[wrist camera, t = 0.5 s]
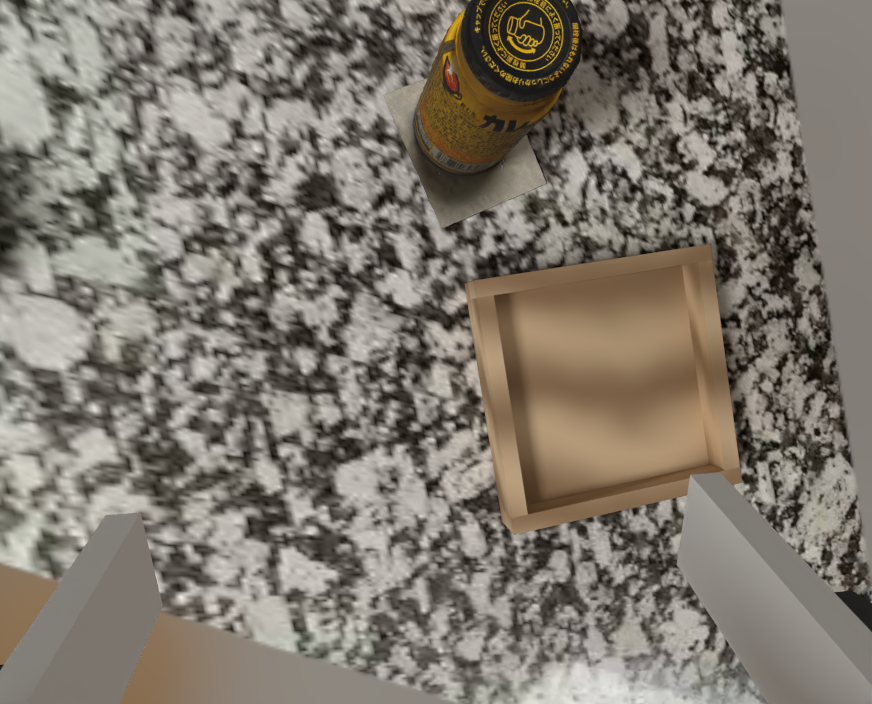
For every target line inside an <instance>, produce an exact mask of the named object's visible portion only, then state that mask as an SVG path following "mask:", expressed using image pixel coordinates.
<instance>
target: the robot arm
mask: <svg viewBox="0 0 872 704" xmlns="http://www.w3.org/2000/svg"><path fill="white" fill-rule="evenodd" d="M677 566H678V567H679V569H680V570H681V572H682V573H683V575H684V576H685V578H686V579H687V581H688V583H689V584H690V586H691V587H692V589H693V590H694V592H695V593H696V595H697V596H698V598H699V599H700V601H701V602H702V604H703V605H704V607H705V608H706V610H707V611H708V613H709V614H710V616H711V617H712V619H713V620H714V622H715V623H716V625H717V626H718V628H719V630H720V631H721V633H722V634H723V636H724V637H725V639H726V640H727V642H728V643H729V645H730V646H731V648H732V649H733V651H734V652H735V654H736V655H737V657H738V658H739V660H740V661H741V663H742V664H743V666H744V667H745V669H746V670H747V672H748V674H749V675H750V677H751V678H752V680H753V681H754V683H755V684H756V686H757V687H758V689H759V690H760V692H761V693H762V695H763V696H764V698H765V699H766V701H767V702H768V704H872V603H870V602H869V601H867V600H866V599H864V598H862V597H861V596H859V595H858V594H856V593H855V592H853V591H844V592H833V591H832V590H831V589H830V588H829V587H828V585H827V584H826V583H825V582H824V581H823V580H822V579H821V578H820V577H819V576H818V575H817V574H816V573H815V572H814V571H813V570H812V569H811V568H810V567H809V565H808V564H807V563H806V562H805V561H804V560H803V559H802V558H801V557H800V556H799V555H798V554H797V553H796V552H795V551H794V550H793V549H792V548H791V547H790V545H789V544H788V543H787V542H786V541H785V540H784V539H783V538H782V537H781V536H780V535H779V534H778V533H777V532H776V531H775V530H774V529H773V528H772V527H771V525H770V524H769V523H768V522H767V521H766V520H765V519H764V518H763V517H762V516H761V515H760V514H759V513H758V512H757V511H756V510H755V509H754V508H753V507H752V505H751V504H750V503H749V502H748V501H747V500H746V499H745V498H744V497H743V496H742V495H741V494H740V493H739V492H738V491H737V490H736V489H735V488H734V487H733V485H732V484H731V483H730V482H729V481H728V480H727V479H726V478H725V477H724V476H723V475H722V474H721V473H707V474H692V475H690V480H689V486H688V493H687V500H686V507H685V513H684V520H683V527H682V534H681V540H680V547H679V554H678V561H677ZM162 606H163V605H162V601H161V597H160V593H159V589H158V584H157V580H156V576H155V572H154V568H153V563H152V559H151V555H150V551H149V547H148V542H147V538H146V534H145V530H144V526H143V521H142V517H141V513H131V514H117V515H106V516H105V518H104V519H103V521H102V522H101V523H100V525H99V526H98V528H97V529H96V531H95V532H94V534H93V535H92V537H91V538H90V540H89V541H88V543H87V544H86V545H85V547H84V548H83V550H82V551H81V553H80V554H79V556H78V557H77V559H76V560H75V562H74V563H73V564H72V566H71V567H70V569H69V570H68V572H67V573H66V575H65V576H64V578H63V579H62V581H61V582H60V584H59V585H58V586H57V588H56V589H55V591H54V592H53V594H52V595H51V597H50V598H49V600H48V601H47V603H46V604H45V606H44V607H43V608H42V610H41V612H40V613H39V614H38V616H37V617H36V619H35V620H34V622H33V623H32V625H31V626H30V627H29V629H28V631H27V632H26V633H25V635H24V636H23V638H22V639H21V641H20V642H19V644H18V645H17V647H16V648H15V650H14V651H13V652H12V654H11V655H10V657H9V658H8V660H7V661H6V663H5V664H4V665H0V704H120V702H121V699H122V697H123V695H124V693H125V690H126V688H127V685H128V683H129V681H130V679H131V677H132V674H133V672H134V670H135V667H136V665H137V663H138V661H139V659H140V656H141V653H142V652H143V649H144V647H145V645H146V643H147V640H148V638H149V636H150V634H151V631H152V629H153V627H154V624H155V622H156V620H157V618H158V616H159V613H160V611H161V609H162Z"/></svg>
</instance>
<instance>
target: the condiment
mask: <svg viewBox="0 0 872 704" xmlns="http://www.w3.org/2000/svg"><path fill="white" fill-rule="evenodd" d="M581 43H582V29H581V25H580V21H579V18H578V16H577V12H576V10H575V9H574V6H573V4H572V2H571V1H570V0H471V1H470V2H469V3H468V6H467V8H466V9H465V10H464V11H462V12H461V13H460V14H459V15H458V16H457V17H456V19H455V20H454V21H453V23H452V25H451V26H450V27H449V29H448V30H447V34H446V35H445V37H444V39H443V41H442V43H441V45H440V47H439V51H438V54H437V56H436V58H435V61H434V62H433V64H432V69H431V71H430V73H429V75H428V77H427V79H424V80H422V81H419V82H417V83H414V84H411V85H408V86H405V87H403V88H400V89H397V90H395V91H392V92H390V93H387V94H385V95H383V96H384V98H385V100H386V103H387V105H388V107H389V110H390V112H391V114H392V117H393V119H394V122H395V124H396V126H397V128H398V130H399V133H400V135H401V138H402V140H403V142H404V145H405V147H406V149H407V151H408V154H409V156H410V158H411V160H412V162H413V165H414V167H415V169H416V171H417V173H418V175H419V177H420V180H421V183H422V185H423V187H424V189H425V192H426V194H427V197H428V199H429V201H430V203H431V205H432V207H433V209H434V211H435V214H436V216H437V219H438V221H439V223H440V226H441V228H444V227H446V226H449V225H451V224H453V223H456V222H458V221H461V220H463V219H465V218H468V217H470V216H472V215H474V214H477V213H479V212H482V211H484V210H486V209H489V208H491V207H493V206H495V205H498V204H500V203H502V202H505V201H507V200H509V199H512V198H514V197H516V196H518V195H521V194H523V193H525V192H528V191H530V190H532V189H535V188H537V187H539V186H541V185H544V184H546V181H545V179H544V176H543V173H542V171H541V168H540V166H539V164H538V162H537V160H536V156H535V154H534V151H533V149H532V148H531V145H530V143H529V140H528V137H527V135H526V134H527V133H528V132H529V131H530V130H531V129H533V127H534V126H535V125H536V124H537V123H538V122H539V121H541V119H542V118H544V117H545V115H546V114H547V113H548V112H549V111H550V110H551V109H552V108H553V106H554V105H555V103H556V101H557V99H558V98H559V96H560V94H561V91H562V88H563V86H564V85H565V84H566V83H567V81H568V80H569V78H570V77H571V75H572V74H573V72H574V70H575V68H576V67H577V65H578V63H579V61H580V54H581ZM503 158H505V161H504V162H502V159H503ZM502 164H503V165H504V167H503V169H502V170H501V169H500V168H501V165H502ZM439 172H440V175H439Z"/></svg>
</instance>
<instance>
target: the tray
mask: <svg viewBox="0 0 872 704" xmlns="http://www.w3.org/2000/svg"><path fill="white" fill-rule="evenodd" d="M465 289H466V295H467V302H468V308H469V314H470V321H471V327H472V333H473V340H474V346H475V352H476V359H477V365H478V371H479V378H480V384H481V390H482V397H483V403H484V409H485V415H486V422H487V428H488V434H489V441H490V447H491V453H492V460H493V466H494V472H495V479H496V485H497V491H498V498H499V504H500V510H501V517H502V522H503V523H504V524H505V525H506V526H507V527H508V528H509V529H510V531H511V532H512V533H513V534H514V535H515V534H520V533H524V532H528V531H533V530H537V529H541V528H546V527H550V526H554V525H559V524H563V523H568V522H572V521H576V520H581V519H585V518H589V517H594V516H598V515H602V514H607V513H611V512H616V511H620V510H624V509H629V508H633V507H637V506H642V505H646V504H651V503H655V502H659V501H664V500H668V499H672V498H677V497H681V496H685V495H687V493H688V486H689V480H690V475H692V474H707V473H721V474H722V475H723V476H724V477H725V478H726V479H727V480H728V481H729V482H730V483H731V484H732V485H733V484H738V483H742V479H741V472H740V464H739V457H738V449H737V442H736V434H735V427H734V419H733V412H732V404H731V396H730V389H729V381H728V374H727V366H726V359H725V351H724V344H723V336H722V329H721V321H720V314H719V306H718V299H717V291H716V283H715V276H714V268H713V261H712V253H711V246H710V244H707V245H700V246H694V247H688V248H681V249H675V250H668V251H662V252H655V253H649V254H642V255H636V256H629V257H623V258H616V259H610V260H604V261H597V262H591V263H584V264H578V265H571V266H565V267H558V268H552V269H545V270H539V271H533V272H526V273H520V274H513V275H507V276H500V277H494V278H487V279H481V280H474V281H471V282H469V283H466V284H465Z"/></svg>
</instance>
